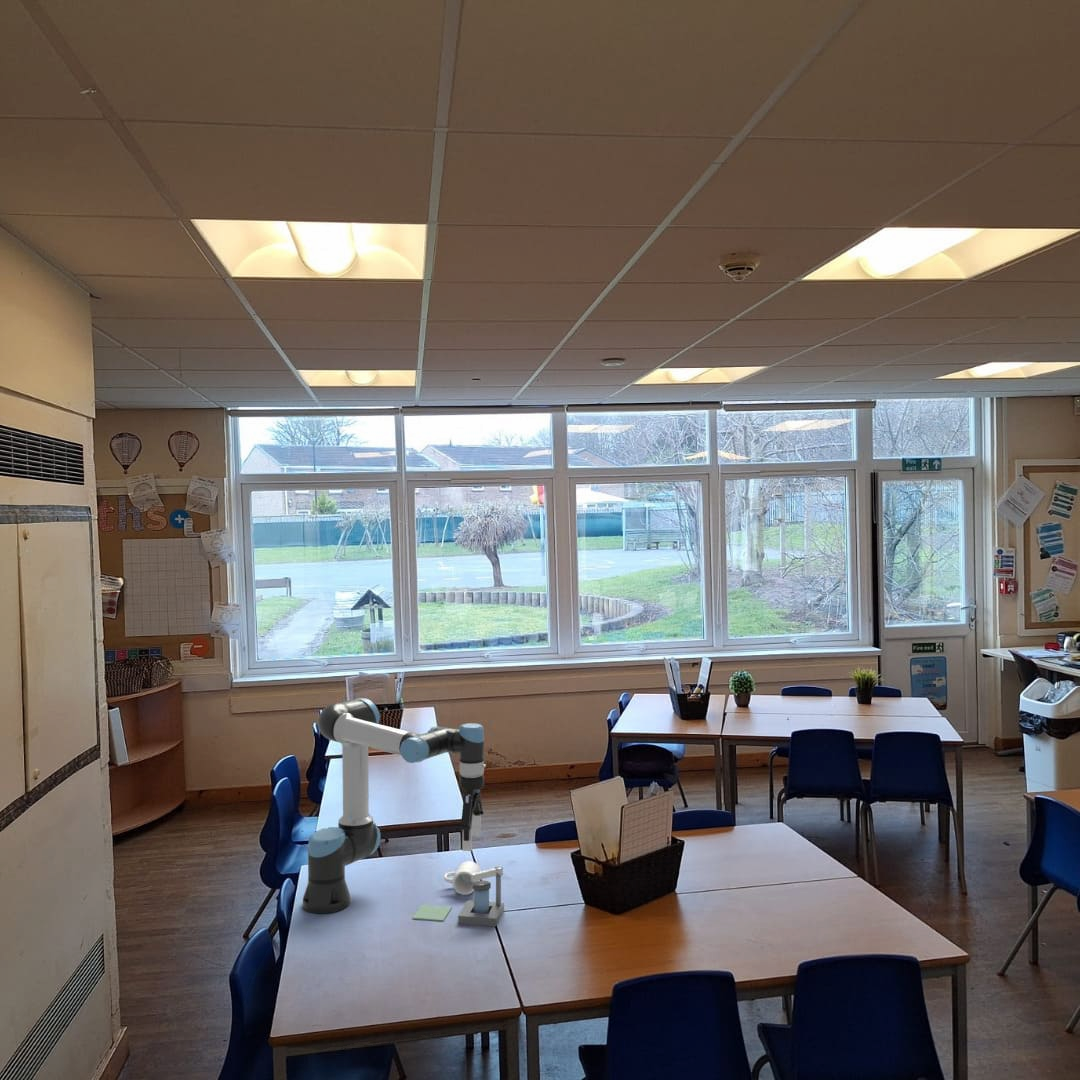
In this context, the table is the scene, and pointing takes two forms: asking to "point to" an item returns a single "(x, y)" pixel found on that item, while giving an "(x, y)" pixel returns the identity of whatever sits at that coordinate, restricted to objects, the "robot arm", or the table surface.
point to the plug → (481, 896)
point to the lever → (487, 873)
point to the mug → (463, 877)
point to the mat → (432, 913)
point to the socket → (480, 918)
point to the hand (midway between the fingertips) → (471, 843)
